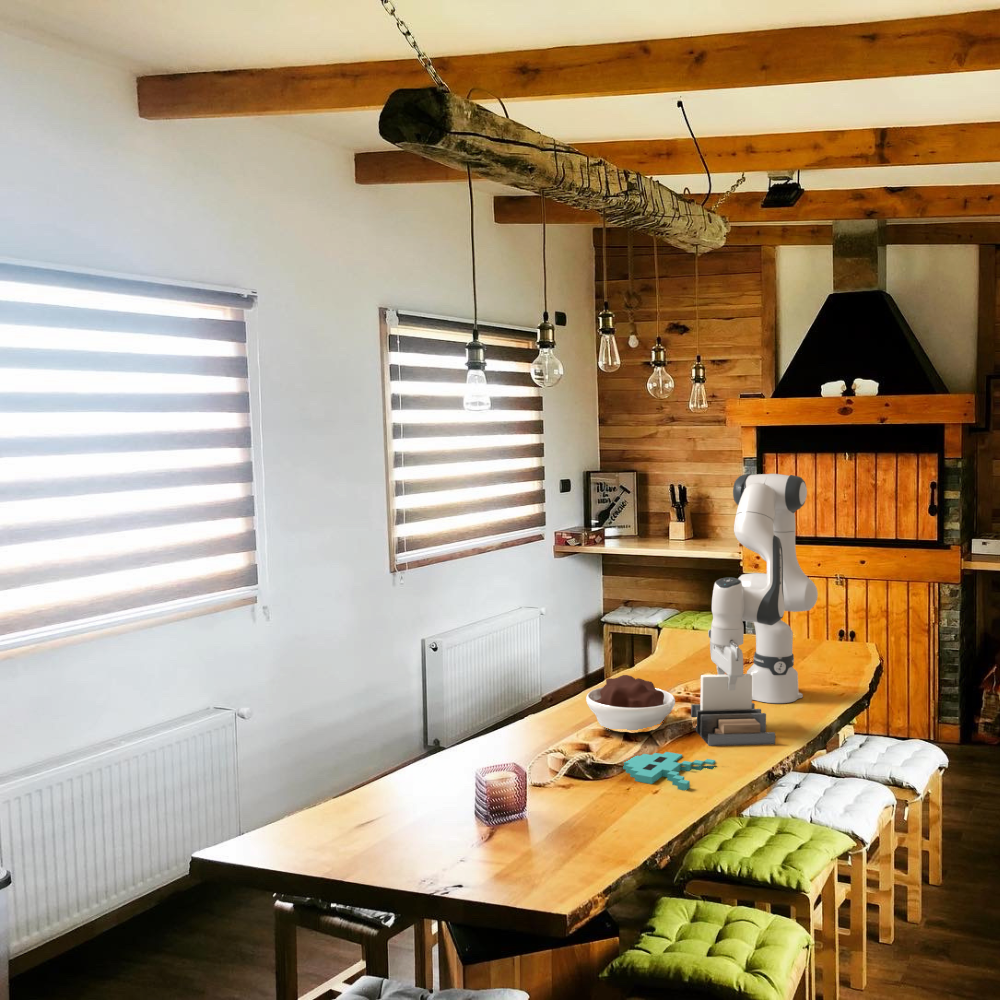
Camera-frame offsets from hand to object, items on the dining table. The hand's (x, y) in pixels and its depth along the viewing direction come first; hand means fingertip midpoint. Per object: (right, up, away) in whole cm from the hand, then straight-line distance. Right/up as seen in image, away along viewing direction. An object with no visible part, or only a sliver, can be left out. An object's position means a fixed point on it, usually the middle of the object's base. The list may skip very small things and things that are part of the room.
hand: (726, 685), depth 308 cm
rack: (0, -14, -5) cm, 15 cm away
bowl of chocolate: (-27, -13, +4) cm, 30 cm away
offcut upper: (+1, -11, -10) cm, 15 cm away
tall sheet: (0, -12, +1) cm, 12 cm away
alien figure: (-22, -17, -32) cm, 42 cm away
